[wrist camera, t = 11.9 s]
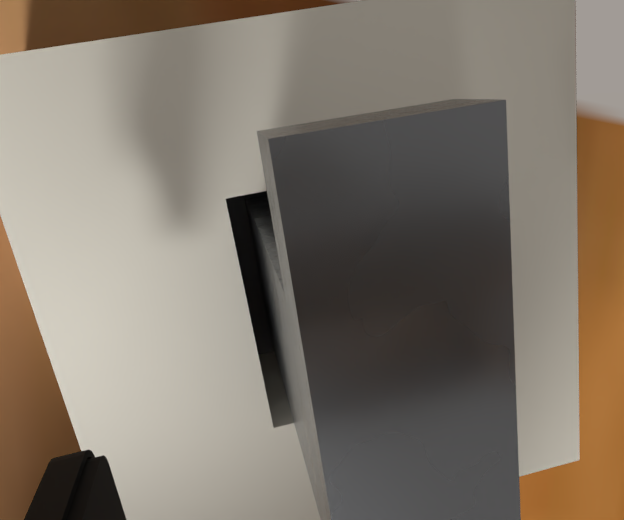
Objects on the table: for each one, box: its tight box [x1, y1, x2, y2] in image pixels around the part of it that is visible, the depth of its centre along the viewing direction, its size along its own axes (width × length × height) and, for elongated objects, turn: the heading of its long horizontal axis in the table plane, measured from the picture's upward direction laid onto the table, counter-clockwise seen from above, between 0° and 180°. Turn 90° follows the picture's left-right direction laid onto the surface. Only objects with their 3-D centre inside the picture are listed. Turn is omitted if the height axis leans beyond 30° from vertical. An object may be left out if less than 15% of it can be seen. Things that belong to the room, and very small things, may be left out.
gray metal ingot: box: [244, 99, 521, 520], centre depth 13 cm, size 8×3×11 cm, turn 8°
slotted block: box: [0, 0, 579, 520], centre depth 17 cm, size 14×14×5 cm
